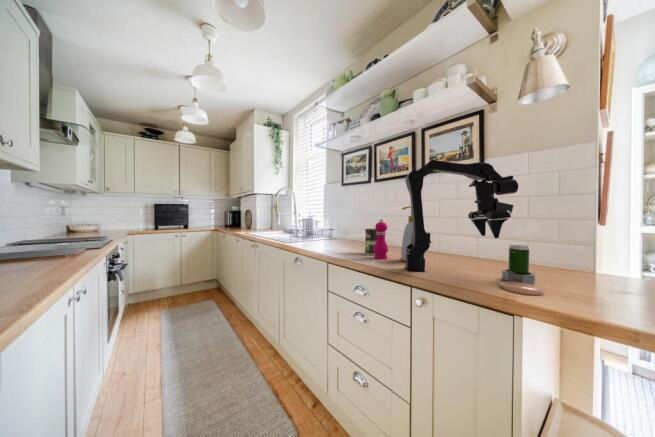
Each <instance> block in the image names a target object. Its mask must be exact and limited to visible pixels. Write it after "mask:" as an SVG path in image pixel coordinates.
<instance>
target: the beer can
mask: <svg viewBox="0 0 655 437" xmlns="http://www.w3.org/2000/svg"><path fill="white" fill-rule="evenodd" d="M507 269H508V272H510V273H515V274H524V275H529V272H530V247H529V246H528V245H520V244H510V245H509V247H508V264H507Z"/></svg>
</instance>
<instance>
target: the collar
mask: <svg viewBox="0 0 655 437" xmlns="http://www.w3.org/2000/svg"><path fill="white" fill-rule="evenodd" d="M501 279H502V280H503V281H505V282H506V281H510V282H520V283H526V284H531V285H535V283H536V273H534V272H531V271H529V275H524V274H515V273H510V272H508V268H505V269H502V270H501Z"/></svg>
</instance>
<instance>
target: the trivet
mask: <svg viewBox="0 0 655 437" xmlns="http://www.w3.org/2000/svg"><path fill="white" fill-rule="evenodd" d="M500 288H501V289H503V290H506V291H509V292H511V293H515V294H521V295H527V296H543V295H544V294H545V289H544V288H543V287H541V286H538V285H535V284H533V285H531V284H526V283H520V282H510V281H506V280H505V281H501V282H500Z"/></svg>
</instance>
